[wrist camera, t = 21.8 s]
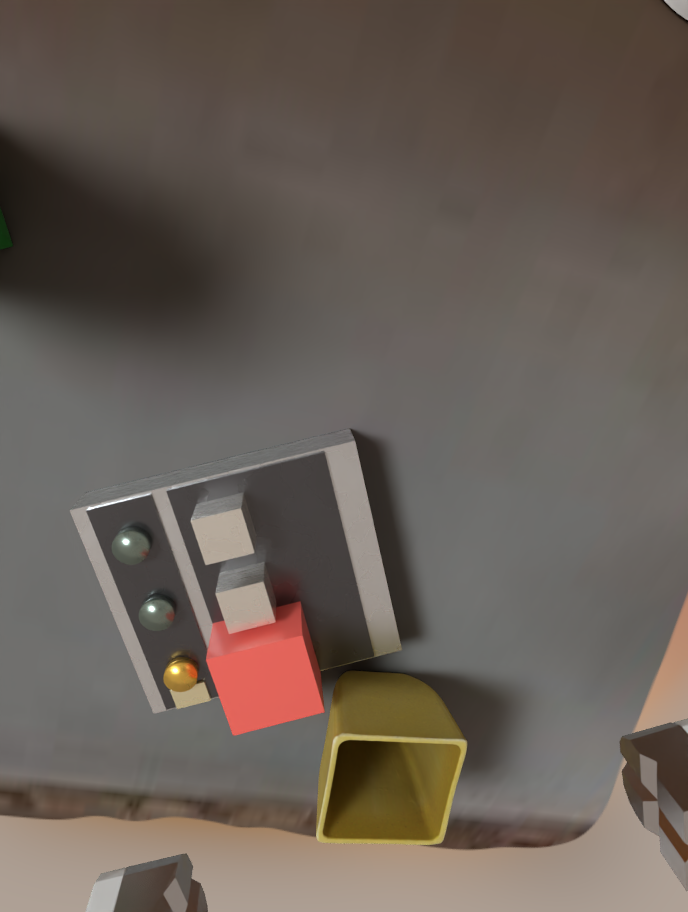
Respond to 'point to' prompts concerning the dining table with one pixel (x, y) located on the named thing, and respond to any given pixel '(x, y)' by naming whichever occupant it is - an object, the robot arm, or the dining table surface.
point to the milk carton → (4, 234)
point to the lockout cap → (266, 671)
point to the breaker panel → (239, 560)
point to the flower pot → (387, 762)
